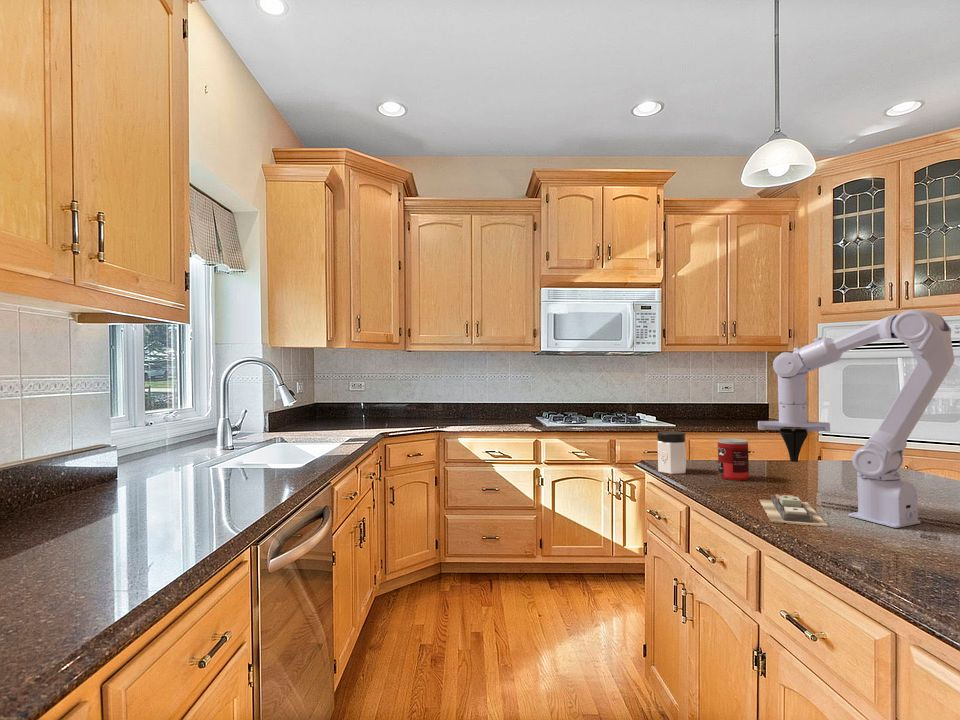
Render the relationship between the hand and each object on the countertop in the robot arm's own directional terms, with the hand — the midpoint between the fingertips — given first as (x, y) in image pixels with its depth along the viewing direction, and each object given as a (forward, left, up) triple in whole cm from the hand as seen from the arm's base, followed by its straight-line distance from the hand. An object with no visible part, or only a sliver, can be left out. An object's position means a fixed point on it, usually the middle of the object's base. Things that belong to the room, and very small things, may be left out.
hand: (793, 461), depth 123 cm
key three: (-1, +4, -9) cm, 10 cm away
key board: (-5, +8, -10) cm, 14 cm away
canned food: (+26, -9, -10) cm, 29 cm away
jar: (+41, 0, -10) cm, 43 cm away
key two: (-5, +8, -8) cm, 12 cm away
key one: (-9, +12, -9) cm, 17 cm away
